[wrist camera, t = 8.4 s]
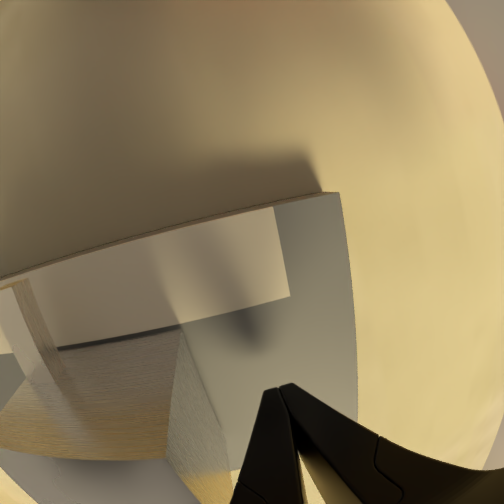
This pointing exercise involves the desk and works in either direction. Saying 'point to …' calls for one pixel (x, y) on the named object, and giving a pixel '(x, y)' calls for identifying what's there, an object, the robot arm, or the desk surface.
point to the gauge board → (218, 305)
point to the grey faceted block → (108, 418)
